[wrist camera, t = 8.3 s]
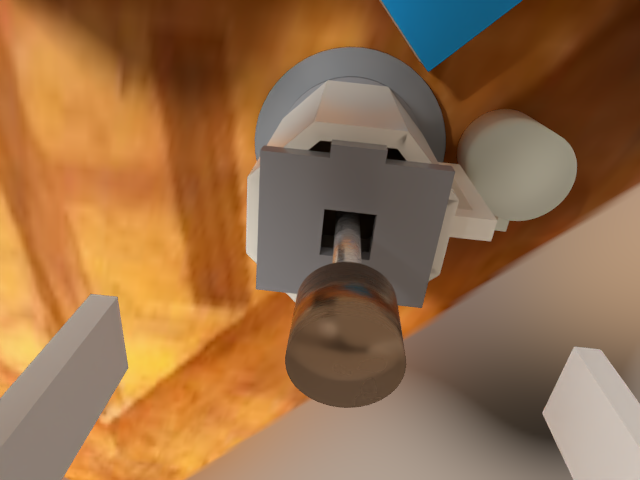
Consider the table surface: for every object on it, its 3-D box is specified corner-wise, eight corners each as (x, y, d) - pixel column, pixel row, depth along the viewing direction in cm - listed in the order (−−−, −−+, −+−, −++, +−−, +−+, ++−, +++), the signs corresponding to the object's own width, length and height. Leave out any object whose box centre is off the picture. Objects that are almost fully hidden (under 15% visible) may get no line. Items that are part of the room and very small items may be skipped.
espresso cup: (467, 104, 32) (490, 124, 27) (552, 113, 32) (592, 135, 27) (444, 200, 35) (461, 234, 30) (520, 208, 35) (550, 244, 30)
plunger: (321, 149, 27) (288, 309, 13) (382, 155, 26) (417, 323, 13) (316, 204, 28) (282, 400, 14) (373, 211, 28) (395, 413, 14)
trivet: (259, 36, 31) (257, 36, 30) (464, 57, 30) (466, 59, 30) (254, 220, 37) (252, 224, 36) (423, 239, 37) (424, 243, 36)
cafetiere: (282, 68, 31) (237, 110, 19) (467, 88, 31) (544, 143, 18) (275, 206, 36) (236, 312, 23) (435, 224, 35) (479, 340, 23)
